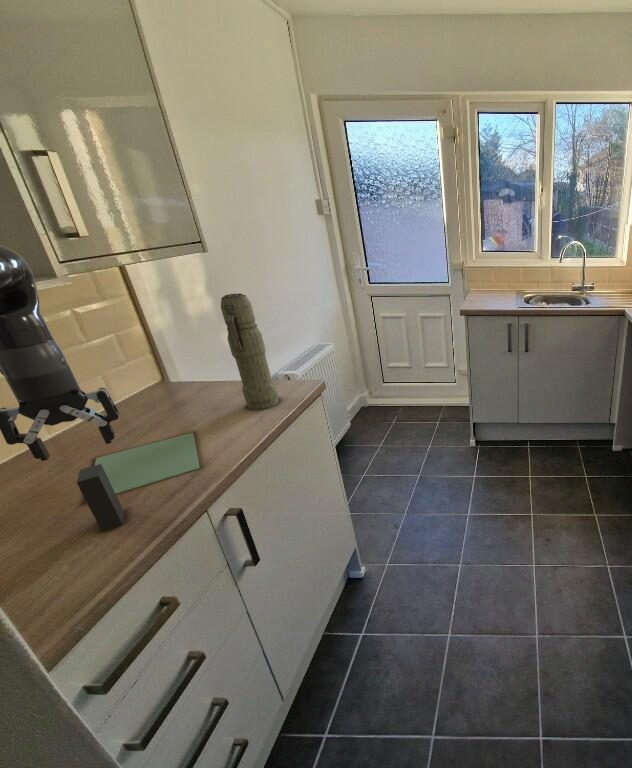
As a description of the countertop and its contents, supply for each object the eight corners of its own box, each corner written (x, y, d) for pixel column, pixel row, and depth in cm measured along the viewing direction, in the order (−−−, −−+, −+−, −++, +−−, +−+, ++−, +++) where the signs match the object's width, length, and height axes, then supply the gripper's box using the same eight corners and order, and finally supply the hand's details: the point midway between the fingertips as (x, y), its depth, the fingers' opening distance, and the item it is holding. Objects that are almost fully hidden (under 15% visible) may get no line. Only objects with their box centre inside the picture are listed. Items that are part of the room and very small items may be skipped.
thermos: (242, 414, 126) (206, 300, 112) (254, 398, 136) (223, 292, 123) (273, 411, 128) (243, 298, 114) (283, 395, 138) (256, 290, 124)
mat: (86, 504, 88) (85, 502, 88) (96, 460, 104) (95, 458, 104) (200, 469, 100) (199, 467, 99) (193, 434, 115) (193, 432, 115)
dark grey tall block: (101, 533, 80) (74, 482, 75) (103, 519, 84) (78, 469, 79) (123, 526, 82) (98, 475, 77) (124, 512, 86) (101, 463, 81)
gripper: (95, 353, 77) (129, 429, 83) (-21, 372, 69) (27, 455, 75) (91, 364, 71) (128, 445, 78) (-35, 386, 63) (17, 474, 70)
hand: (78, 450), depth 76 cm, fingers open, 8 cm apart
